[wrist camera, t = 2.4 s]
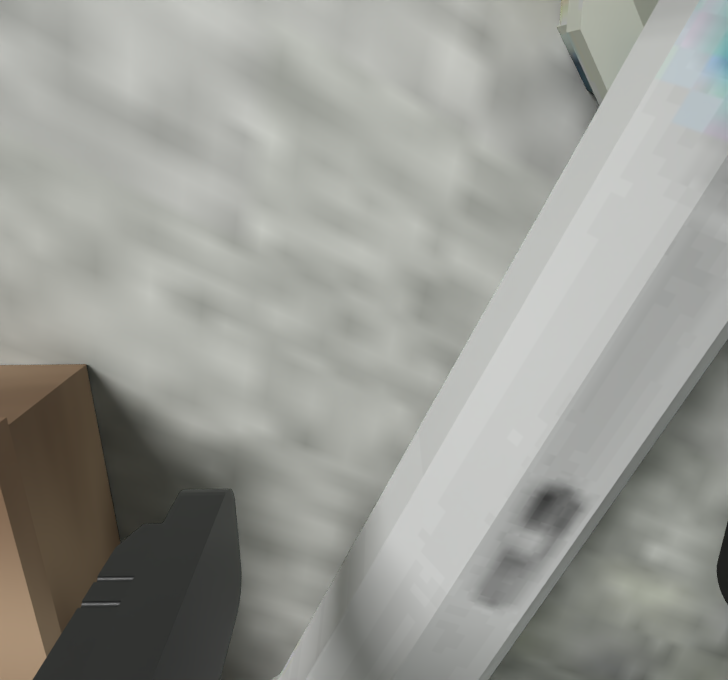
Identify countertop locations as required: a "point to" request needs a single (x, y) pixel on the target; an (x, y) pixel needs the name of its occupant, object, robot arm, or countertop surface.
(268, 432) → the countertop surface
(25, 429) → the stand
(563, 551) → the white handheld device
